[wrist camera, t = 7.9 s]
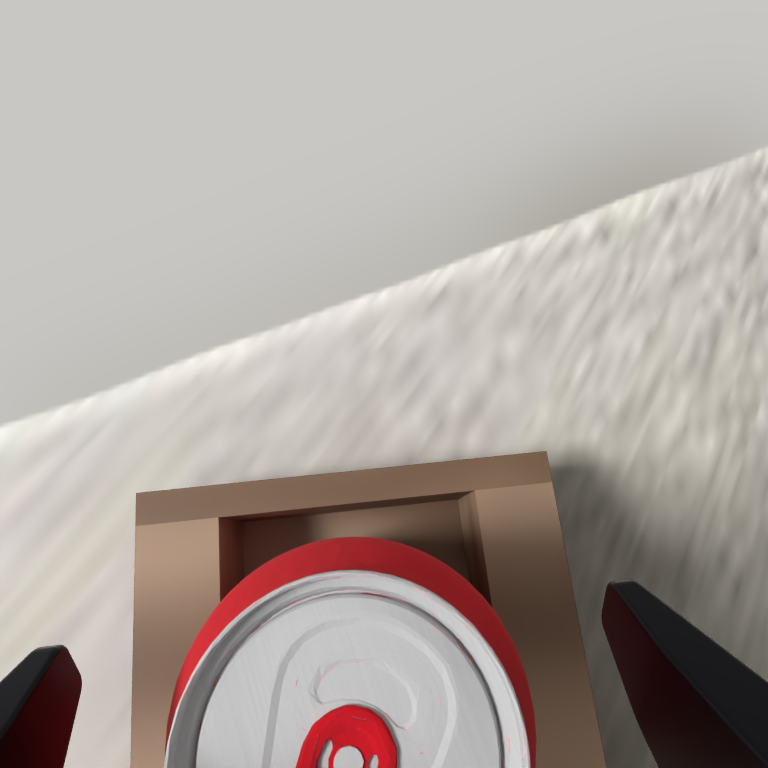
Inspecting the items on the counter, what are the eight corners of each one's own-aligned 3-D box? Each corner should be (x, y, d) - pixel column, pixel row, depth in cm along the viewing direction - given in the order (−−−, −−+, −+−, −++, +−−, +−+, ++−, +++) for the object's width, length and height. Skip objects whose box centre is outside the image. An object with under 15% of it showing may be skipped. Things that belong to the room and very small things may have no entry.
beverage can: (470, 568, 20) (608, 603, 8) (426, 758, 18) (522, 1132, 7) (305, 518, 20) (218, 487, 9) (247, 701, 19) (43, 962, 7)
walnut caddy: (596, 941, 17) (660, 1052, 14) (179, 1004, 17) (122, 1141, 13) (514, 468, 22) (546, 451, 18) (178, 503, 21) (136, 493, 17)
